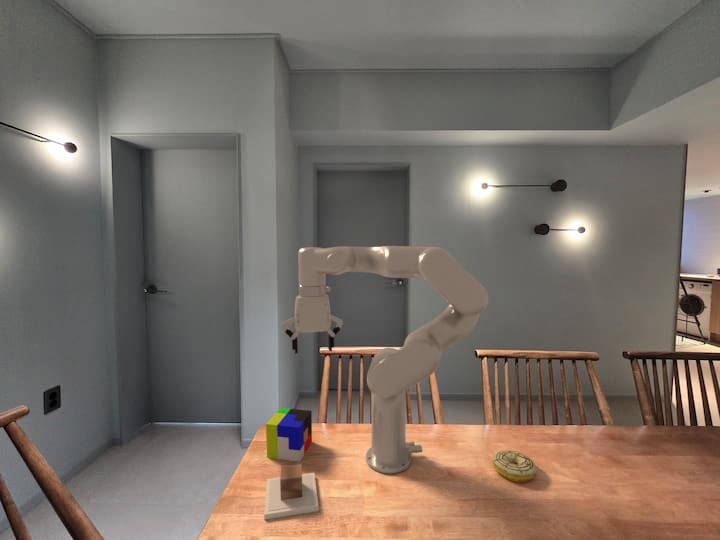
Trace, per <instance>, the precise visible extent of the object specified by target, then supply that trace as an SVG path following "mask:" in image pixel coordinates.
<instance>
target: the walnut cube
mask: <svg viewBox="0 0 720 540" xmlns="http://www.w3.org/2000/svg"><path fill="white" fill-rule="evenodd" d="M279 473H280V475H279V477H280V492H281V500H286V499H293V498H300V497H302V474H303V469H302V463H300V464H291V465H284V466H280V472H279Z"/></svg>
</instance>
